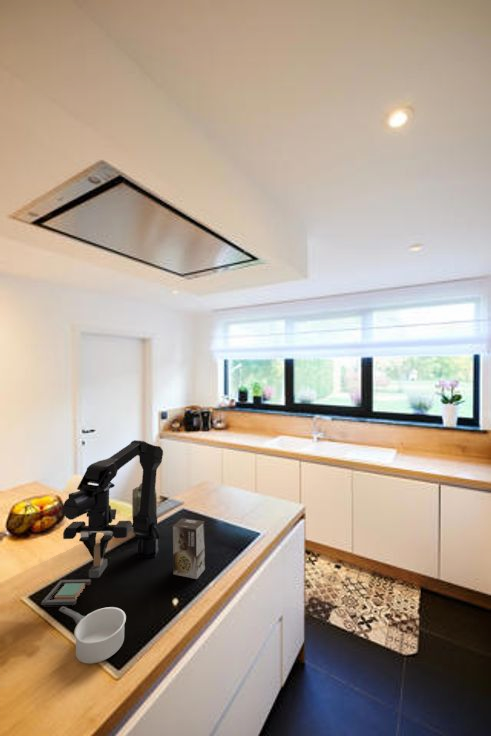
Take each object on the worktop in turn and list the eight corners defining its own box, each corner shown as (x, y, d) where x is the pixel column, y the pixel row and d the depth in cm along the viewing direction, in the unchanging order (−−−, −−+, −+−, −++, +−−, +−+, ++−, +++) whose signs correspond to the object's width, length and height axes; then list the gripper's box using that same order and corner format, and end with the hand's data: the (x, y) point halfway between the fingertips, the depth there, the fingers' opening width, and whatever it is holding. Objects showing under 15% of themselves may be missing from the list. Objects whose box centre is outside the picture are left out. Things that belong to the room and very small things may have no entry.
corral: (90, 583, 100) (90, 579, 100) (74, 605, 90) (74, 601, 91) (60, 583, 100) (60, 580, 100) (41, 606, 90) (41, 602, 90)
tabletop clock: (156, 536, 131) (156, 475, 131) (133, 540, 127) (133, 477, 128) (153, 521, 144) (153, 466, 145) (132, 525, 141) (132, 468, 142)
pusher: (107, 565, 99) (107, 539, 99) (98, 577, 93) (99, 549, 93) (97, 565, 99) (98, 539, 99) (88, 577, 93) (89, 549, 93)
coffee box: (205, 568, 108) (205, 520, 108) (196, 580, 102) (196, 529, 102) (182, 563, 111) (182, 517, 111) (172, 574, 105) (172, 525, 105)
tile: (84, 589, 98) (84, 582, 98) (75, 602, 92) (75, 595, 93) (65, 589, 98) (65, 582, 98) (54, 603, 92) (54, 596, 92)
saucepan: (80, 614, 87) (80, 593, 88) (135, 637, 79) (136, 614, 80) (38, 646, 77) (39, 622, 77) (98, 676, 69) (98, 650, 69)
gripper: (137, 495, 105) (137, 543, 104) (81, 496, 104) (80, 544, 104) (126, 509, 94) (125, 563, 93) (62, 510, 93) (61, 564, 93)
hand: (98, 557), depth 96 cm, fingers closed on pusher, 2 cm apart
